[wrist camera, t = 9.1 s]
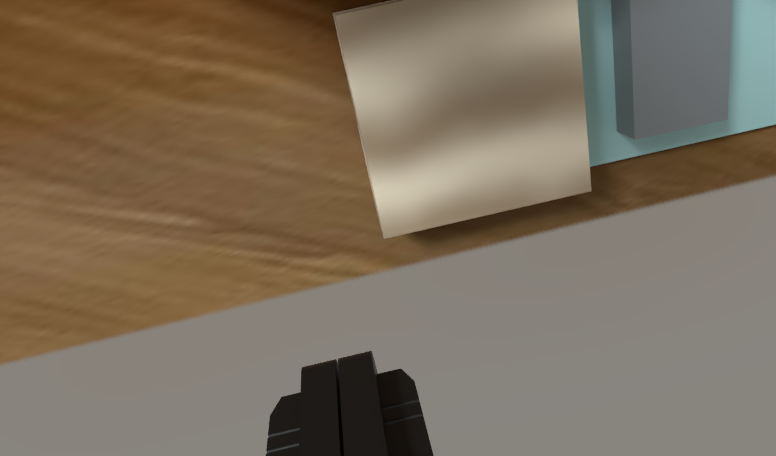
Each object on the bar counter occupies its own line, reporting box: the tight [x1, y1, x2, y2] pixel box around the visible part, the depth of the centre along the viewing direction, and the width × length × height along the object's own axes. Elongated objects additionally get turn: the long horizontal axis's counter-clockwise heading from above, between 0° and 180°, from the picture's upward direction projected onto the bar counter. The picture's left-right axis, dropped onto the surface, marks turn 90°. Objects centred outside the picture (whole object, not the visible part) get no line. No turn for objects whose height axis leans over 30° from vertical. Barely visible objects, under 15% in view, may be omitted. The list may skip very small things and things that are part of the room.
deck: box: [333, 0, 592, 239], centre depth 36 cm, size 13×13×4 cm
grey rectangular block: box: [611, 0, 731, 140], centre depth 37 cm, size 9×6×2 cm, turn 11°
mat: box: [577, 0, 776, 167], centre depth 38 cm, size 13×14×1 cm
